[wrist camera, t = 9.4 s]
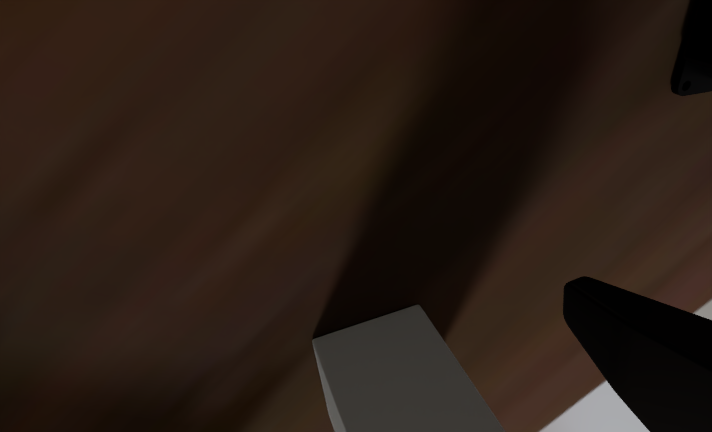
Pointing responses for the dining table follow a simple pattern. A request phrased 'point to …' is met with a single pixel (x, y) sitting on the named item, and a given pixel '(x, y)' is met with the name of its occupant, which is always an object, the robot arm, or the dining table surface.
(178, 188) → the dining table surface
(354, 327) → the milk
